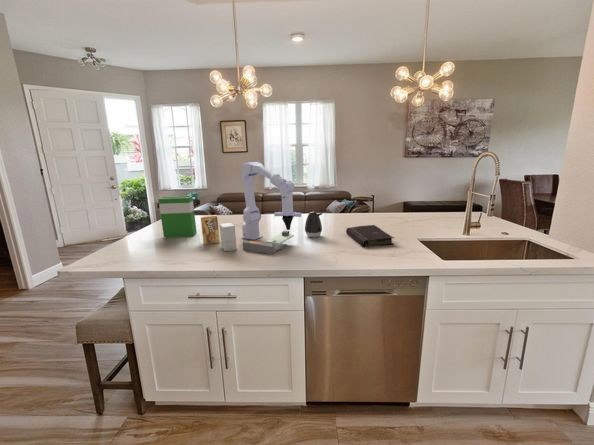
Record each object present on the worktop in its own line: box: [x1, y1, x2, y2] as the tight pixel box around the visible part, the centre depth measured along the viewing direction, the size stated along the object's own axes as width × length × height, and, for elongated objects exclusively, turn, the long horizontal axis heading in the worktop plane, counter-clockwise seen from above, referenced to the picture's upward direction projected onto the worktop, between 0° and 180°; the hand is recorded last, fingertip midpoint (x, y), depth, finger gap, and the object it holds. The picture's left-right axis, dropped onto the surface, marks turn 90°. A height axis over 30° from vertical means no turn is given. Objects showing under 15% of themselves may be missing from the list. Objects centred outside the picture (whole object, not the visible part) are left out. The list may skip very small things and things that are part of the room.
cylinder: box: [248, 240, 267, 245], centre depth 153 cm, size 10×3×3 cm
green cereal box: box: [157, 195, 198, 238], centre depth 178 cm, size 18×7×24 cm, turn 94°
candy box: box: [200, 214, 221, 245], centre depth 164 cm, size 9×4×15 cm, turn 110°
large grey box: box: [242, 240, 287, 255], centre depth 155 cm, size 18×15×4 cm
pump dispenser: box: [304, 210, 323, 238], centre depth 171 cm, size 10×10×15 cm
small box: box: [219, 222, 237, 252], centre depth 154 cm, size 8×6×13 cm
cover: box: [265, 230, 295, 245], centre depth 154 cm, size 16×8×3 cm, turn 153°
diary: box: [345, 224, 395, 248], centre depth 164 cm, size 19×25×5 cm
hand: (288, 229), depth 157 cm, fingers closed
